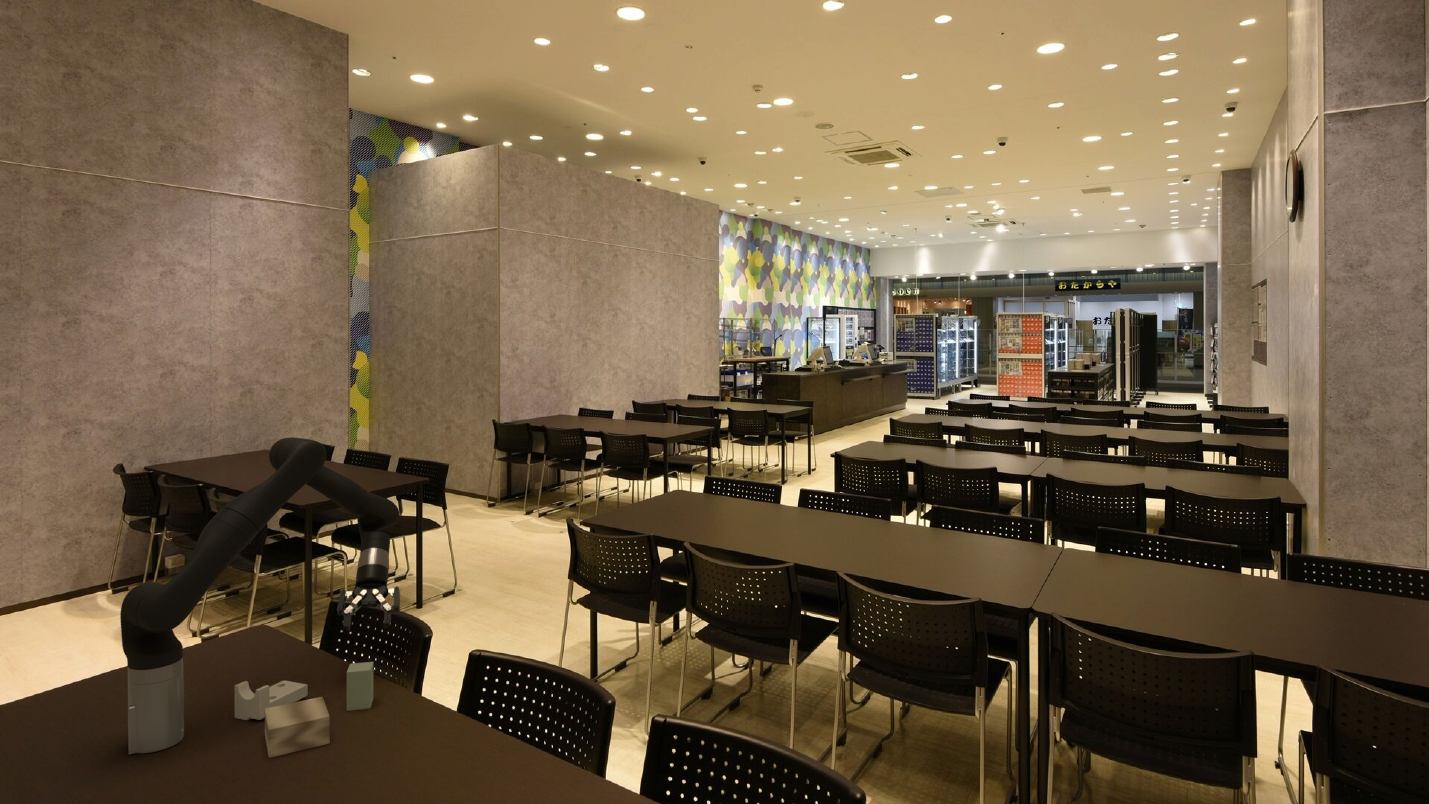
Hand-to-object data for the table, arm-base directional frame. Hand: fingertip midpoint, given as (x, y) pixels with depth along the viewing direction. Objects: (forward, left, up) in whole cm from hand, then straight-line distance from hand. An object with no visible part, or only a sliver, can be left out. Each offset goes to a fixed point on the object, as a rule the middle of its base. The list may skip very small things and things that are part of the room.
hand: (366, 628), depth 185 cm
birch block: (-18, -20, -15) cm, 31 cm away
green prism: (-4, -10, -14) cm, 18 cm away
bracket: (-20, -1, -15) cm, 25 cm away
